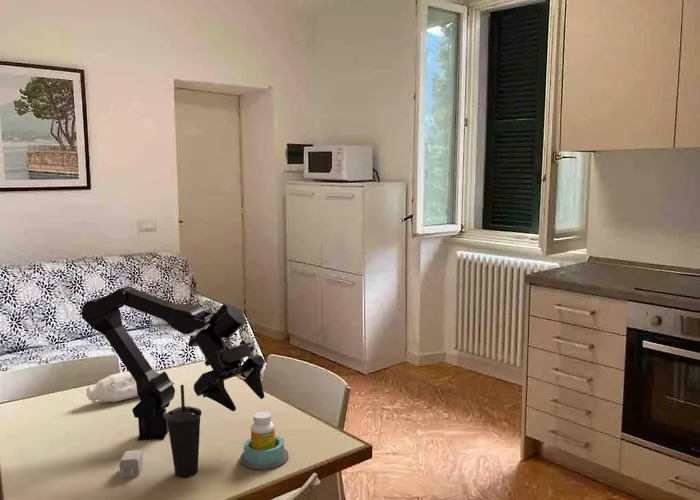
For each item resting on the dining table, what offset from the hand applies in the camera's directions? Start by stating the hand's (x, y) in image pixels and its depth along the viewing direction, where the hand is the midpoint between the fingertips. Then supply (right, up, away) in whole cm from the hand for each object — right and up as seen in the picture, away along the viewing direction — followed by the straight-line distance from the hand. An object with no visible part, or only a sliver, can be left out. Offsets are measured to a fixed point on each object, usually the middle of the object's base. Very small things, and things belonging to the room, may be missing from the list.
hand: (249, 404), depth 141 cm
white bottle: (-43, -9, +38) cm, 58 cm away
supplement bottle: (+4, -12, -1) cm, 12 cm away
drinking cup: (-13, -14, -7) cm, 20 cm away
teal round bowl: (+4, -12, -1) cm, 13 cm away
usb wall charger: (-25, -14, -8) cm, 30 cm away
